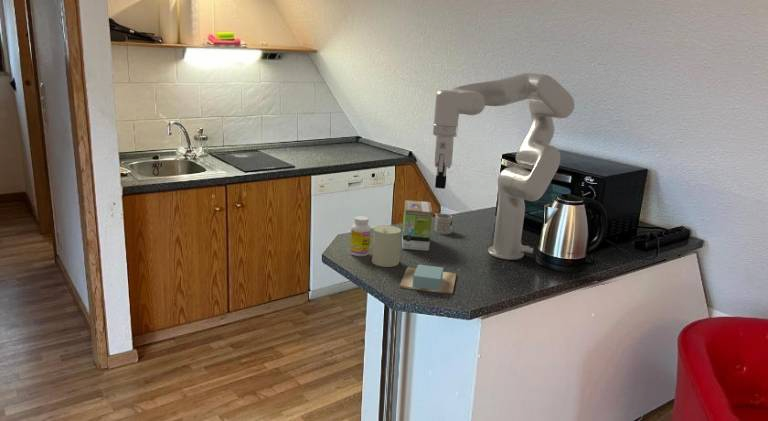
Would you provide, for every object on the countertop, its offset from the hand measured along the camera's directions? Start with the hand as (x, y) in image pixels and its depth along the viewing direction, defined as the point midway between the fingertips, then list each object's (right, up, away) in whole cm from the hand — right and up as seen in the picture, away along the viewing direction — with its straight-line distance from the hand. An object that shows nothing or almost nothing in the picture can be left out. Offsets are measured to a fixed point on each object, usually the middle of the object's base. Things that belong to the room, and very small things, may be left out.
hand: (440, 187), depth 191 cm
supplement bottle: (-26, -23, +15) cm, 38 cm away
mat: (-4, -29, -5) cm, 30 cm away
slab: (-4, -27, -4) cm, 27 cm away
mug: (+5, -16, +47) cm, 50 cm away
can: (-18, -25, +9) cm, 32 cm away
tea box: (-7, -20, +30) cm, 36 cm away
